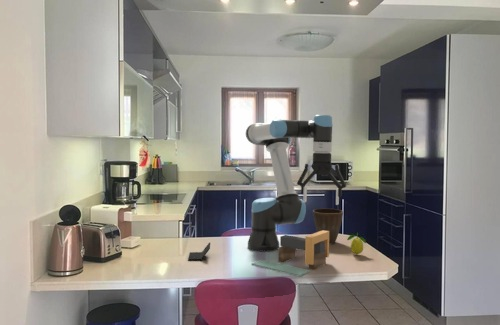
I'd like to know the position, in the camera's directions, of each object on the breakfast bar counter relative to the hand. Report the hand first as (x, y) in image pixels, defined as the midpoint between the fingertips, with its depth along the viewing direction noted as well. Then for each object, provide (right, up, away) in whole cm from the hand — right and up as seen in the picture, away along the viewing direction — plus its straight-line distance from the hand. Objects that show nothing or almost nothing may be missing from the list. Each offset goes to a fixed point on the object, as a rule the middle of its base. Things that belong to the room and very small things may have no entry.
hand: (320, 203), depth 168 cm
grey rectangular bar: (-8, -19, 0) cm, 20 cm away
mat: (-18, -25, -8) cm, 32 cm away
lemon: (+18, -25, +12) cm, 33 cm away
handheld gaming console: (-52, -25, +7) cm, 58 cm away
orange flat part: (-2, -23, -5) cm, 23 cm away
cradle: (-8, -25, 0) cm, 26 cm away
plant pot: (+10, -24, +36) cm, 44 cm away
